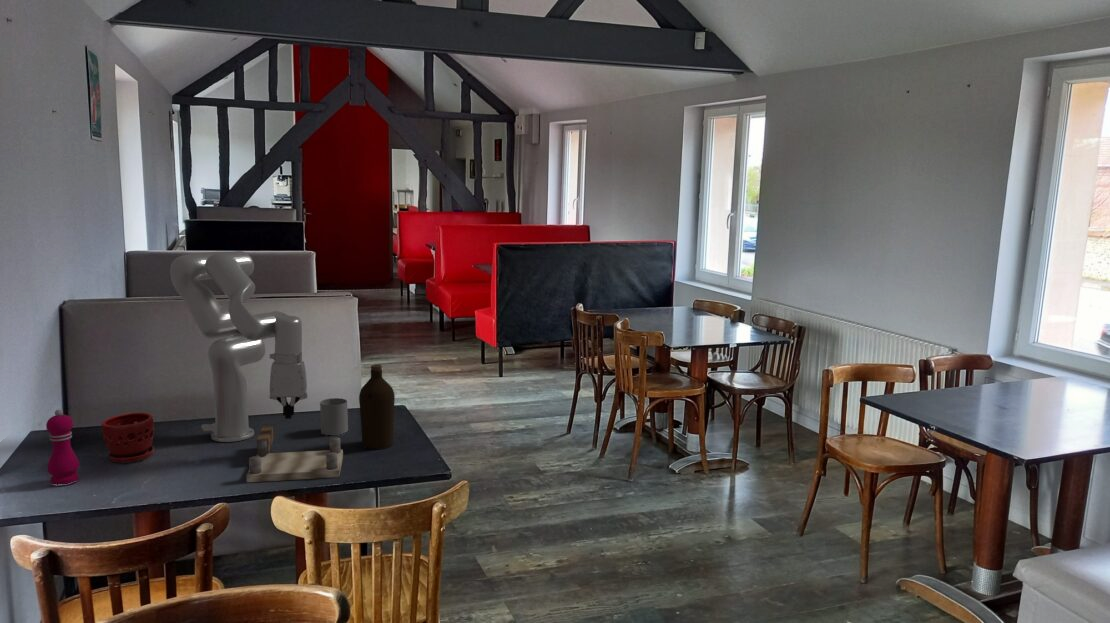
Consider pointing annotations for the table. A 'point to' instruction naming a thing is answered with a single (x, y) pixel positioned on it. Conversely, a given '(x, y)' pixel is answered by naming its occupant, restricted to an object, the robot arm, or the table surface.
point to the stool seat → (297, 464)
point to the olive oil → (377, 411)
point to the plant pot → (129, 437)
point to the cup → (334, 416)
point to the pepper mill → (62, 450)
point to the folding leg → (265, 440)
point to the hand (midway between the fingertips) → (288, 417)
